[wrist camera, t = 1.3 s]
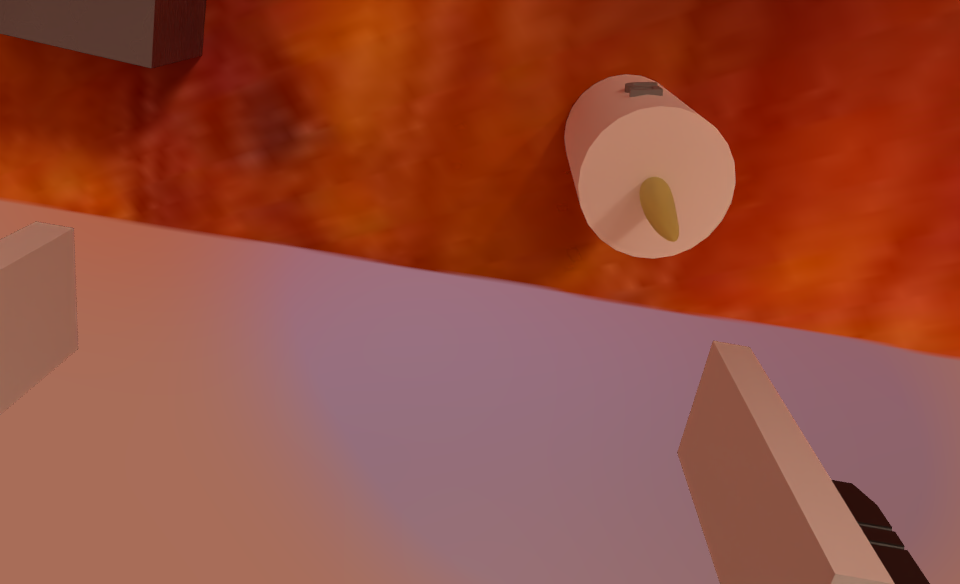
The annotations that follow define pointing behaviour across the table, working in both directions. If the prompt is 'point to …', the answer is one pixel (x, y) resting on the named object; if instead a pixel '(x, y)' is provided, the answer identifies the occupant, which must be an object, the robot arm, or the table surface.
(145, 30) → the block
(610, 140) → the candle
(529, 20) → the table surface
